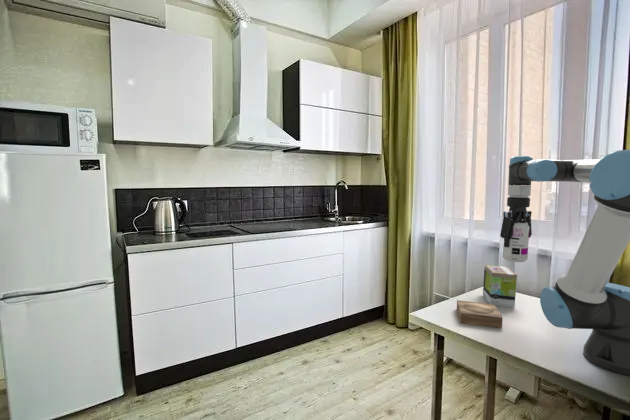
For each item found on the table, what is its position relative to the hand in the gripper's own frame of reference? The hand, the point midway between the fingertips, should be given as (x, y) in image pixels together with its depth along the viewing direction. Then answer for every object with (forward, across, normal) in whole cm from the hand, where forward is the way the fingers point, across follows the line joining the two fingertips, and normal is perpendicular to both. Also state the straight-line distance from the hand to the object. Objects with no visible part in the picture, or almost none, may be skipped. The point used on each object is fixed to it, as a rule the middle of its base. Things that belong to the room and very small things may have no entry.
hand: (514, 254), depth 128 cm
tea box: (+26, -12, -14) cm, 31 cm away
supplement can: (+2, 0, 0) cm, 2 cm away
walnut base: (+25, +14, -4) cm, 29 cm away
